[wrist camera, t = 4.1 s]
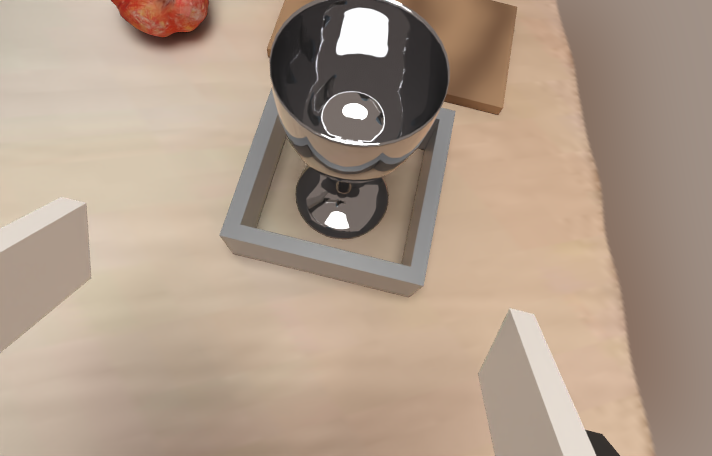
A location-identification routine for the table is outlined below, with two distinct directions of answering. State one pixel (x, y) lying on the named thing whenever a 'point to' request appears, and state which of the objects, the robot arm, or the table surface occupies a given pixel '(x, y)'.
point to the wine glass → (354, 103)
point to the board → (461, 45)
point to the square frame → (323, 258)
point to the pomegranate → (163, 15)
